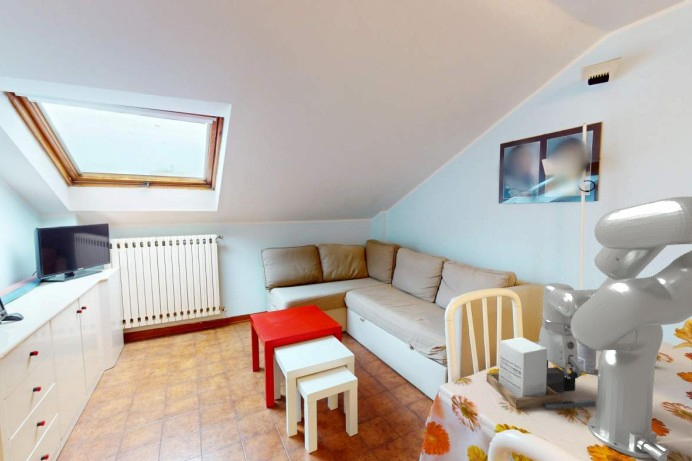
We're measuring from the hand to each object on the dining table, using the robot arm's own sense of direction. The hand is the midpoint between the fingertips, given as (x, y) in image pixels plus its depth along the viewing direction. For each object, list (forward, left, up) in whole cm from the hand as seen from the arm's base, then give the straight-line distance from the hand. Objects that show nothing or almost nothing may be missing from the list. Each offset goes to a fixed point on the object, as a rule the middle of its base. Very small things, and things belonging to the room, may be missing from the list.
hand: (555, 381), depth 91 cm
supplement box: (0, +11, -3) cm, 11 cm away
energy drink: (+9, -20, -3) cm, 22 cm away
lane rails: (0, +3, -3) cm, 4 cm away
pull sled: (0, +8, -2) cm, 8 cm away
